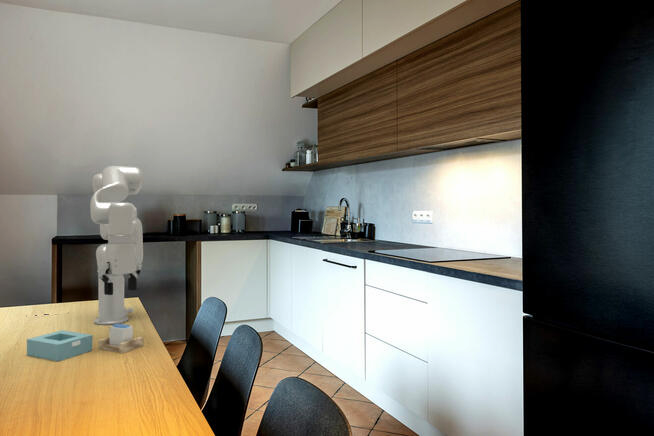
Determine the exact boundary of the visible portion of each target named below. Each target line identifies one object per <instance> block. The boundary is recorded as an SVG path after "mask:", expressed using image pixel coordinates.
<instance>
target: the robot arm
mask: <svg viewBox="0 0 654 436" xmlns="http://www.w3.org/2000/svg"><path fill="white" fill-rule="evenodd" d="M143 175H144V174H143V172H142V170H141V169H140V168H139V167H137V166H127V165H126V166H125V165H110V166H109V165H108V166H106V167H105V168H104V169H103V170H102V172H101V173H96V174H95V175H94V176H93V177H92V188H93V192H94V193H93V195H92V197H91V199H90V204H89V205H90V217H91V220H92V222H93V223H94V224H97V225H99V234H100V236H101V238H102V239H103V240H105V241H106V240H107V241H108V242H107V243H105V244H104V243H103V244H101V245H99V246H98V247H97V248H96V251H95V257H96V264H97V270H96V271H97V273H98V274H97V277H98V311H97V312H98V317H96V318H94V320H93V322H94V324H95V325H104V326H105V325H109V326H110V325H115V324H118V323H119V324H123V323H126V322H128V321H129V316H128V314H130V313H133V312H134V308H133V307H129V308H126V307H125V277H124V276H125V275H128V279H127V285H128V286H127V289H128V291H137V285H138V284H137V280H138V278H139V275H140V273H141V271H142V267H143V264H142V263H143V260H144V243H143V241H144V240H143V238H144V237H143V225H142V224H143V223H142V222H141V219H139V218H138V216H137V215H138V212H137V211H138V210H137V209H138V208H137V207H136V205H134V204H133V203H131V202H123V201H125V200H126V198H128V196H130V195H137V194H139V192H140V190H141V189H142V187H143V183H144V176H143ZM127 320H128V321H127Z"/></svg>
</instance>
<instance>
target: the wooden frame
mask: <svg viewBox="0 0 654 436" xmlns="http://www.w3.org/2000/svg"><path fill="white" fill-rule="evenodd" d="M143 346H144V337H143V336H139V337H136V338H133V339H132V340H129V341H126V342H123V343H120V344H119V346H113V345H109V337H105V338H102V339H98V350H99V351H102V350H103V351H109V352H115V353H119V354H124V353H127V352H130V351H134V350H136V349H138V348H141V347H143Z"/></svg>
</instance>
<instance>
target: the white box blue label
mask: <svg viewBox="0 0 654 436" xmlns="http://www.w3.org/2000/svg"><path fill="white" fill-rule="evenodd" d="M133 331H134V328H133V325H130V324H127V323H126V324H125V323H124V324H123V323H118V324H112V326H109V333H108V334H109V345H113V346H119V344H120V343H123V342H126V341H129V340H132V339H134V338H133V337H134V336H133V335H134V332H133Z"/></svg>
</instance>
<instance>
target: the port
mask: <svg viewBox="0 0 654 436" xmlns="http://www.w3.org/2000/svg"><path fill="white" fill-rule="evenodd" d="M91 351H93V334H88V333H83V332H77V331H69V330H62V329H61V330H58V331H54V332H50V333H45V334H41V335H39V336H34V337H31V338H26V356H29V357H32V358H33V357H35V358H40V359H44V360H49V361H54V362H61V361H64V360H66V359H70V358H73V357H75V356H79V355H83V354H85V353H86V354H87V353H89V352H91Z"/></svg>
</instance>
